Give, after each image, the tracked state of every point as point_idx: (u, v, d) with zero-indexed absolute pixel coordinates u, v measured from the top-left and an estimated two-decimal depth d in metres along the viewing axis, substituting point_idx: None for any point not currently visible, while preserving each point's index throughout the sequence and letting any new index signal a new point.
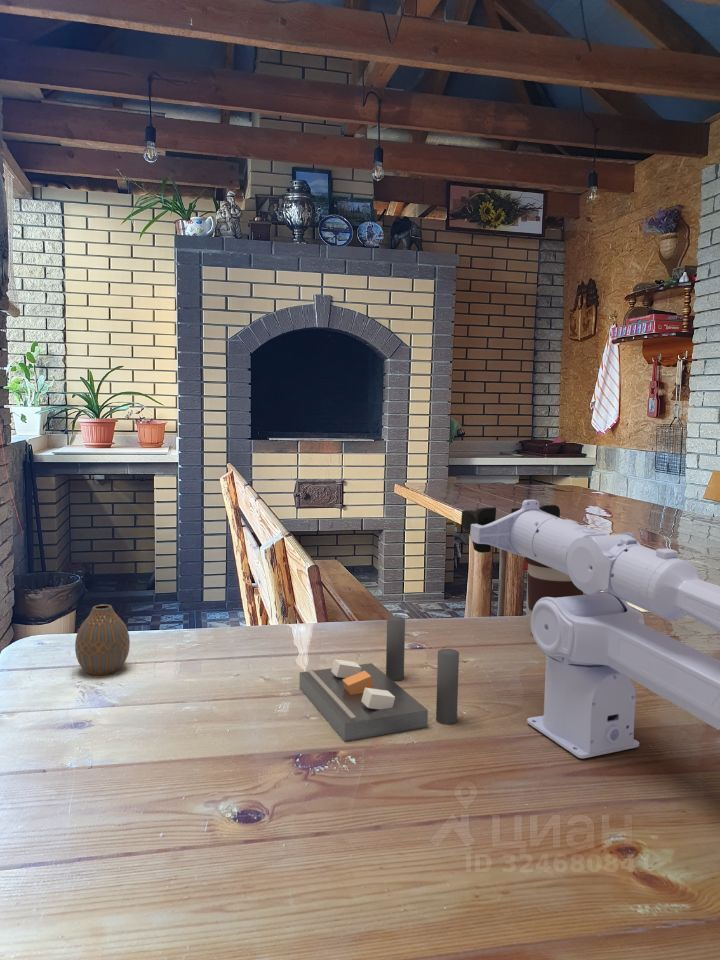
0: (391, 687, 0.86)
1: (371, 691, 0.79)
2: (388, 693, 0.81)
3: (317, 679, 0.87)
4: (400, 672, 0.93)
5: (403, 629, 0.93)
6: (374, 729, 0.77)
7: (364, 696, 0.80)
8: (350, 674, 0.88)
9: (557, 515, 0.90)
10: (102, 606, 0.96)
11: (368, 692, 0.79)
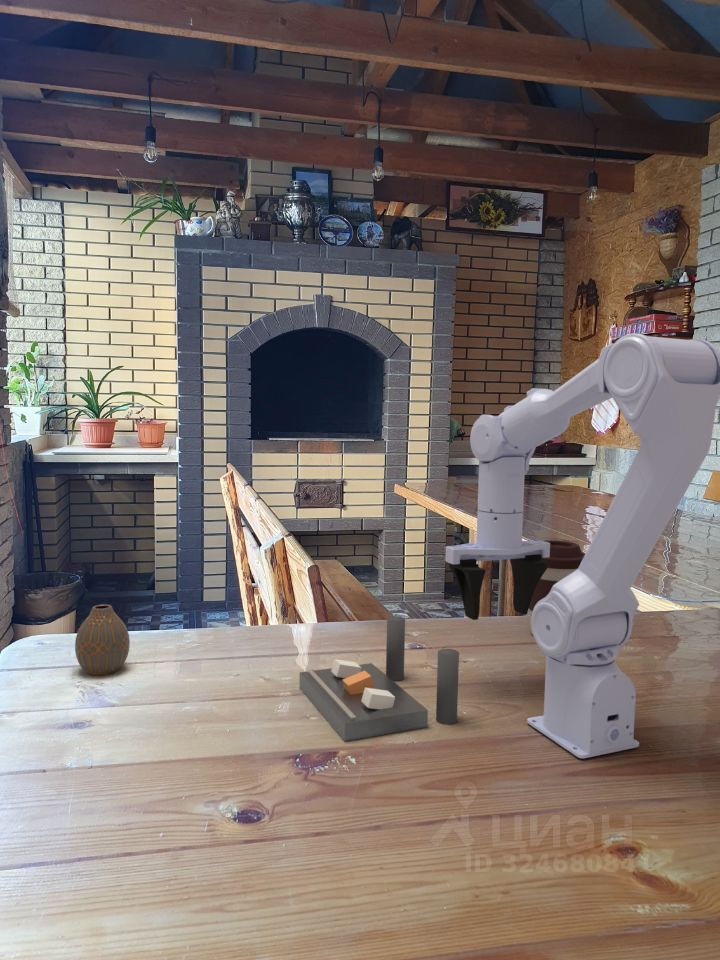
0: (391, 687, 0.86)
1: (371, 691, 0.79)
2: (388, 693, 0.81)
3: (317, 679, 0.87)
4: (400, 672, 0.93)
5: (403, 629, 0.93)
6: (374, 729, 0.77)
7: (364, 696, 0.80)
8: (350, 674, 0.88)
9: None
10: (102, 606, 0.96)
11: (368, 692, 0.79)
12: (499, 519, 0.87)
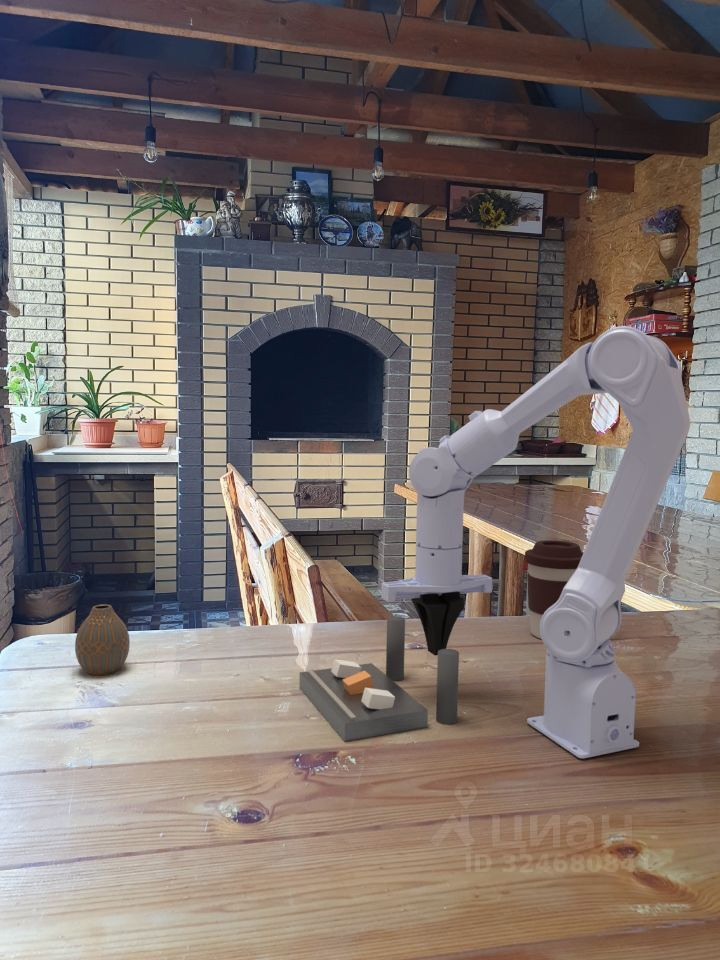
0: (391, 687, 0.86)
1: (371, 691, 0.79)
2: (388, 693, 0.81)
3: (317, 679, 0.87)
4: (400, 672, 0.93)
5: (403, 629, 0.93)
6: (374, 729, 0.77)
7: (364, 696, 0.80)
8: (350, 674, 0.88)
9: None
10: (102, 606, 0.96)
11: (368, 692, 0.79)
12: (436, 555, 0.84)
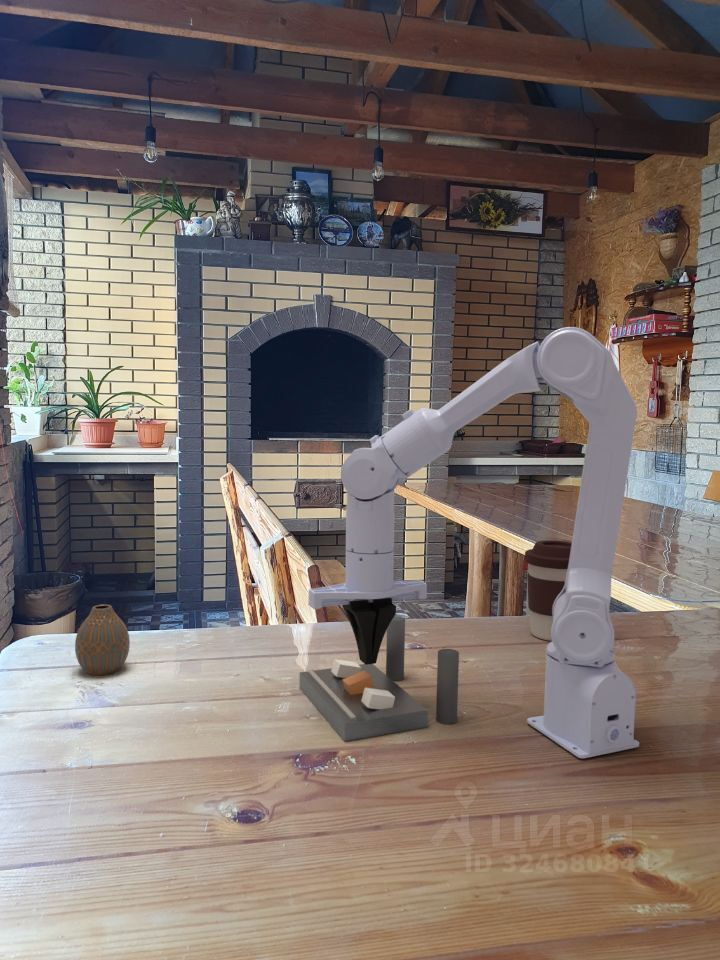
0: (391, 687, 0.86)
1: (371, 691, 0.79)
2: (388, 693, 0.81)
3: (317, 679, 0.87)
4: (400, 672, 0.93)
5: (403, 629, 0.93)
6: (374, 729, 0.77)
7: (364, 696, 0.80)
8: (350, 674, 0.88)
9: None
10: (102, 606, 0.96)
11: (368, 692, 0.79)
12: (364, 560, 0.81)
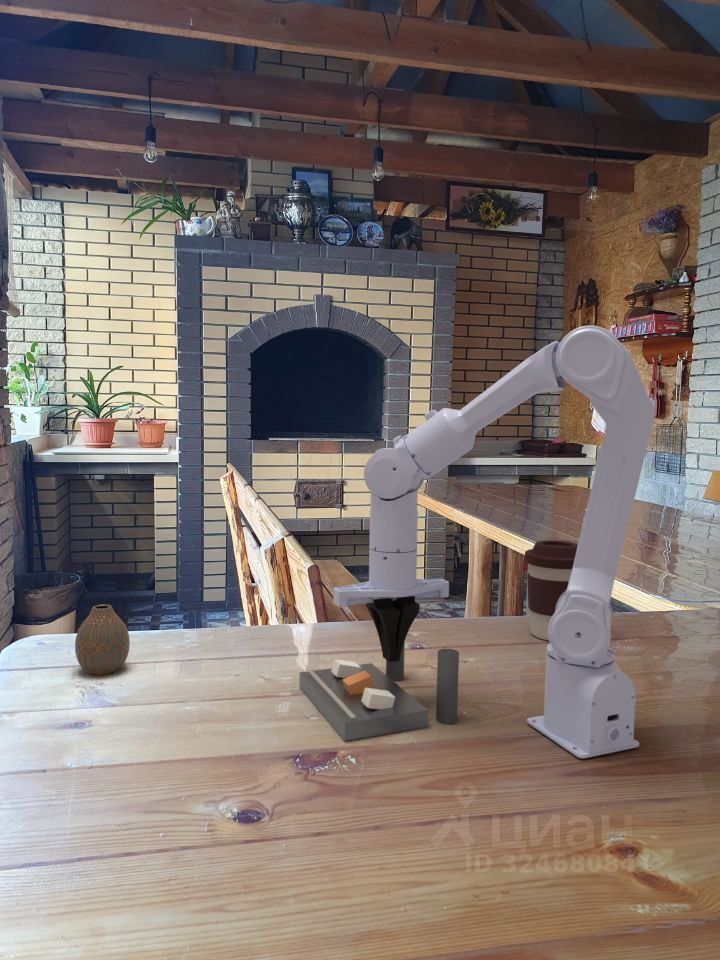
0: (391, 687, 0.86)
1: (371, 691, 0.79)
2: (388, 693, 0.81)
3: (317, 679, 0.87)
4: (400, 672, 0.93)
5: None
6: (374, 729, 0.77)
7: (364, 696, 0.80)
8: (350, 674, 0.88)
9: None
10: (102, 606, 0.96)
11: (368, 692, 0.79)
12: (389, 559, 0.82)
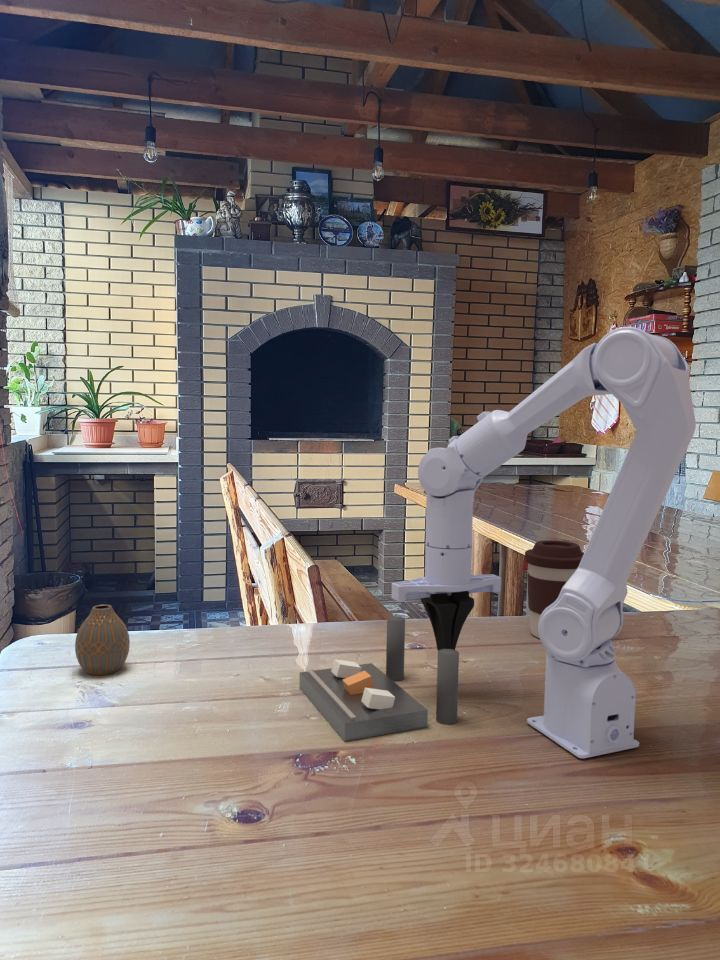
0: (391, 687, 0.86)
1: (371, 691, 0.79)
2: (388, 693, 0.81)
3: (317, 679, 0.87)
4: (400, 672, 0.93)
5: (403, 629, 0.93)
6: (374, 729, 0.77)
7: (364, 696, 0.80)
8: (350, 674, 0.88)
9: None
10: (102, 606, 0.96)
11: (368, 692, 0.79)
12: (446, 555, 0.85)
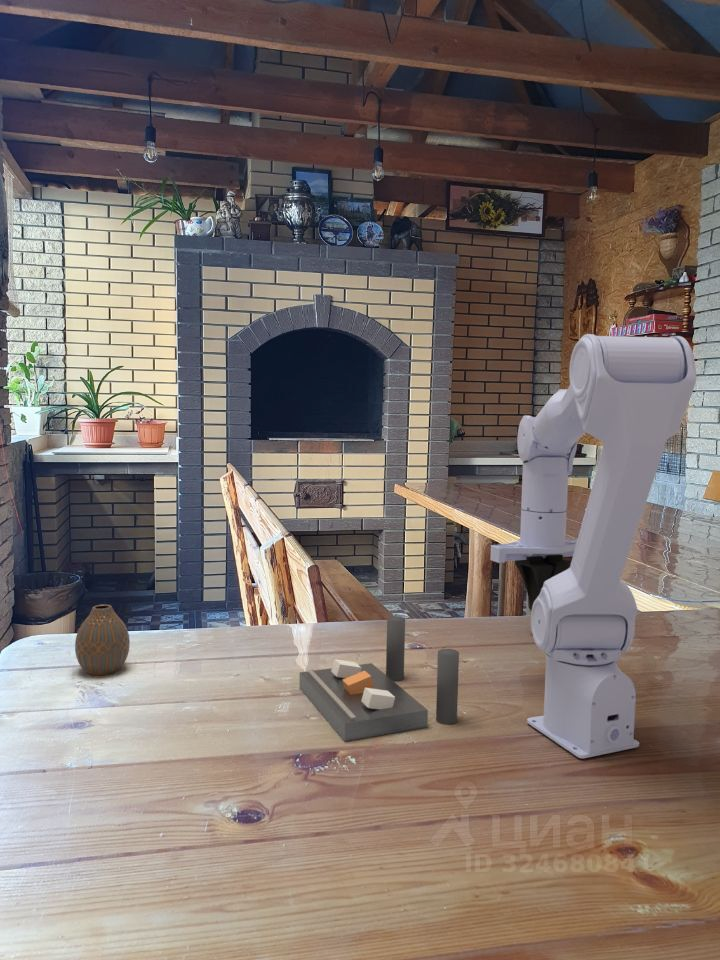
0: (391, 687, 0.86)
1: (371, 691, 0.79)
2: (388, 693, 0.81)
3: (317, 679, 0.87)
4: (400, 672, 0.93)
5: (403, 629, 0.93)
6: (374, 729, 0.77)
7: (364, 696, 0.80)
8: (350, 674, 0.88)
9: None
10: (102, 606, 0.96)
11: (368, 692, 0.79)
12: (544, 518, 0.89)
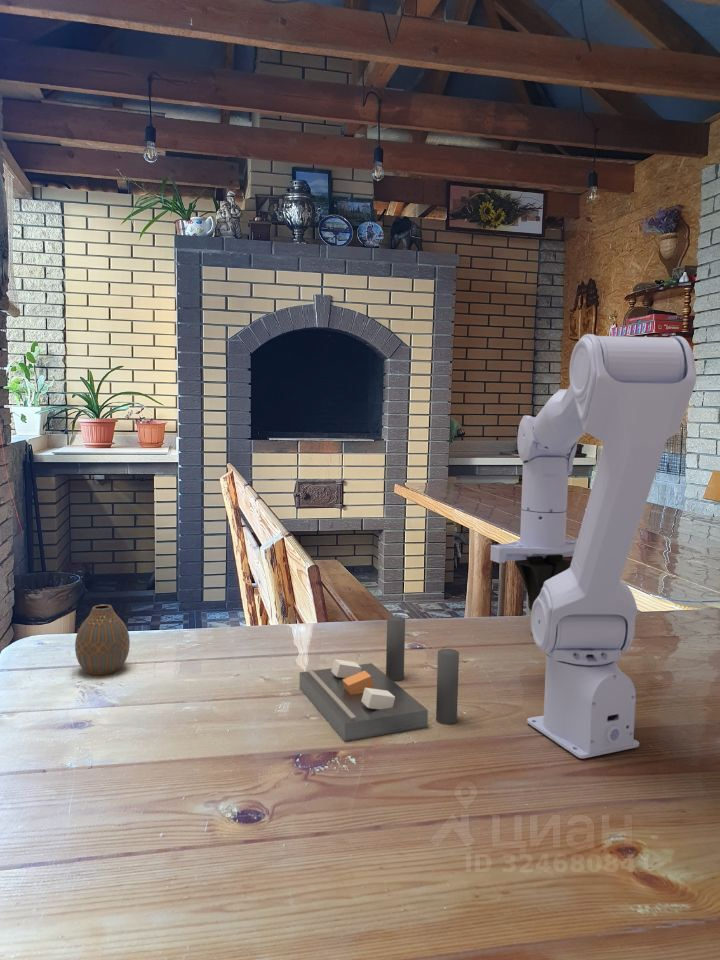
0: (391, 687, 0.86)
1: (371, 691, 0.79)
2: (388, 693, 0.81)
3: (317, 679, 0.87)
4: (400, 672, 0.93)
5: (403, 629, 0.93)
6: (374, 729, 0.77)
7: (364, 696, 0.80)
8: (350, 674, 0.88)
9: None
10: (102, 606, 0.96)
11: (368, 692, 0.79)
12: (544, 518, 0.89)
